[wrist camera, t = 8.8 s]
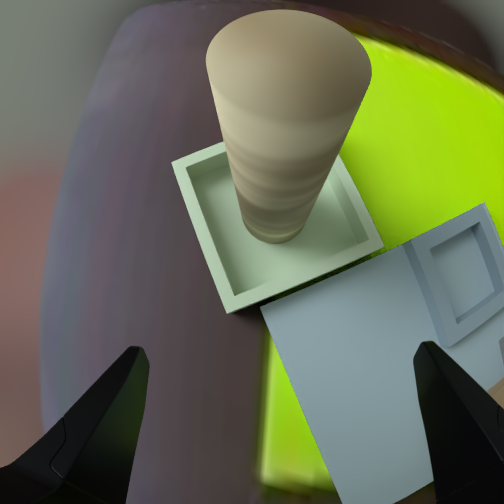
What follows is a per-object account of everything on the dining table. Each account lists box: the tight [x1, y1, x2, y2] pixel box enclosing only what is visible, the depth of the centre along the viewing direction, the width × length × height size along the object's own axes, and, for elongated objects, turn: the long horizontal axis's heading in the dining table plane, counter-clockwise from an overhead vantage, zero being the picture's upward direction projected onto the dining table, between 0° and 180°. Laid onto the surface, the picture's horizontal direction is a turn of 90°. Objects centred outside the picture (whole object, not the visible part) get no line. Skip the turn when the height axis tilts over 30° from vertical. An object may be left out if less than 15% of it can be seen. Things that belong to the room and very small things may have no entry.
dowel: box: [206, 10, 372, 244], centre depth 13 cm, size 4×4×13 cm
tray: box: [171, 142, 384, 313], centre depth 19 cm, size 9×9×2 cm
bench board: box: [260, 203, 504, 504], centre depth 16 cm, size 18×17×4 cm
